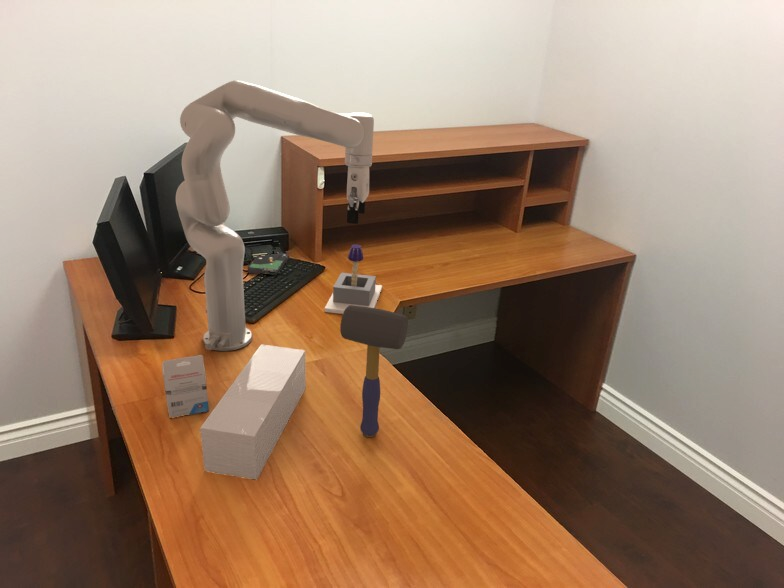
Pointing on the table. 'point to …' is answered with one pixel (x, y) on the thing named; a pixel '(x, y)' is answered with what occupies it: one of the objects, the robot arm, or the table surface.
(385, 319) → the rubber mallet
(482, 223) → the table surface
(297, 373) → the long gray block
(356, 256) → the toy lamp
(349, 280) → the dock
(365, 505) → the table surface
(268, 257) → the disk drive
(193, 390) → the ink box
